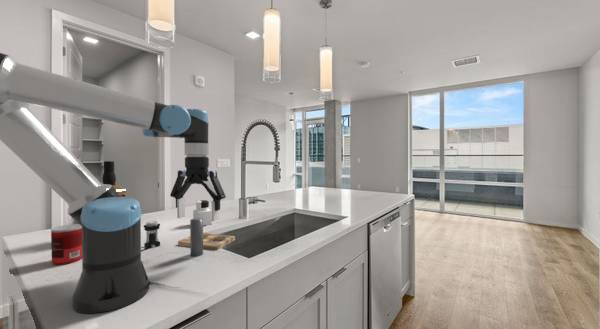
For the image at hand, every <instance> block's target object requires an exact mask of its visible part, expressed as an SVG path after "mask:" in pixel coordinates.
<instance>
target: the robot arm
mask: <svg viewBox="0 0 600 329" xmlns="http://www.w3.org/2000/svg"><path fill="white" fill-rule="evenodd" d="M30 105H34V106H38V107H43V108H49V109H52V110H57V111H62V112H67V113H71V114H75V115H78V116H79V115H80V116H84V117H89V118H94V119H98V120H103V121H108V122H113V123H116V124H117V123H118V124H121V125H126V126H131V127H135V128H140V129H141V132H142V135H143V136H144V137H148V138H149V137H150V138H151V137H152V138H177V139H178V138H179V139H184V155H185V157H184V167H185V169H186V170H185V169H182V170H178V171H177V175H176V179H175V182H174V185H173V187H172V189H171V192H170V197H171V198H174V199H175V208H176V210H177V212H176V213H177V219H181V218H185V217H186V212H185V211H186V206H185V203H186V202H185V200H186V199H185V197H184V195H185V194H186V193H187V192H188V190H189V189H190V187H191V186H192V185H195V184H196V185H202V186H203V187H204V189H205V190H206V192H207V193H208V194H209V195H210V198H211V199H212V201H211V211H212V222H215V221H218V220H219V218H220V217H219V211H220V210H221V200H223V199H226V193H225V192H224V188H223V187H222V185H221V182H220V180H219V178H218V171H217V170H210V171H209V166H210V160H209V159H210V158H209V157H208V155H209V125H210V124H209V115H208V112H207V111H206V110H204V109H199V108H185V107H184V106H183V105H179V104H169V105H168V104H165V103H164V104H163V103H161V102H156V101H154V100H149V99H146V98H142V97H139V96H135V95H132V94H129V93H125V92H121V91H118V90H115V89H110V88H107V87H104V86H99V85H97V84H93V83H88V82H85V81H82V80H79V79H75V78H71V77H68V76H64V75H61V74H57V73H54V72H49V71H47V70H43V69H39V68H36V67H33V66H28V65H25V64H23V63H19V62H18V61H17V60H16V59H15V58H14V57H13V56H12V55H9V54H6V53H2V52H0V141H1V142H2V143H3V144H4V145H5V146H6V147H7V148H8V149H9V150H10V151H11V152H12V153H13V154H14V155H16V156H17V157H18V158H19V159H20V160H21V161H22V162H23V163H24V164H25V165H26V166H27V167H28V168H29V169H31V171H33V172H34V173H35V174H36V175H37V176H38V177H39V178H40V179H41V180H42V181H44V183H46V184H47V185H48V186H49V187H50V189H52V191H54V192H55V193H56V194H57V195H58V196H59V197H60V198H61V199H63V201H65V202H66V203H67V204H68V209H67V214H68V215H69V216H70V217H71V218H72V219H73V220H74V221H75V222H77V224H80V225H81V226H82V259H81V260H82V263H81V265H82V266H81V267H82V268H81V272H80V273H81V274H80V276H79V279H78V281H77V284H76V288H75V290H74V292H73V295H72V308H73V310H74V311H75V312H78V313H81V314H99V313H105V312H111V311H114V310H118V309H120V308H123V307H126V306H129V305H131V304H134V303H135V302H137V301H139V300H140V299H142V298H143V297H144V296H145V295H147V293H148V291H149V289H150V279H149V276H148V275H147V271H146V269H145V266H144V264H143V262H142V251H141V250H142V248H141V247H142V243H141V242H142V239H141V237H142V236H141V235H142V233H141V232H142V230H141V227H142V226H141V225H142V224H141V221H142V220H141V216H142V209H141V204H140V201H138V199H135V198H133V197H127V196H125V197H122V196H121V195H120V194H119V193H118V192H117V191H116V190H115V189H114V187H113V186H112V185H107V184H103V183H102V182H100V180H99V179H97V178H96V177H95V175H94V174H93V173H92V172H91V171H90V170H89V169H88V168H87V167H86V166H85V165H84V164H83V163H82V162H81V161H80V160H79V159H78V157H77V156H75V154H74V153H73V152H71V150H70V149H69V148H68V147H67V146H66V145H65V144H64V143H63V142H62V141H61V140H60V139H59V138H58V137H57V136H56V135H55V134H54V133H53V131H51V130H50V128H48V126H47V125H46V124H45V123H44V122H43V121H42V120H41V119H40V118H39V117H38V115H36V113H34V112H33V110H31V109H30Z"/></svg>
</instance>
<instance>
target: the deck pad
mask: <svg viewBox="0 0 600 329" xmlns="http://www.w3.org/2000/svg"><path fill="white" fill-rule="evenodd" d="M213 253H214V251H211V250H210V251H209V250H204V249H203V255H201V256H198V257H192V256H190V251H189V252H186V253H184V254H182V255H180V256H179V257H178V258H180V259H186V260H193V261H194V260H195V261H201V260H203V259H204V258H205V257H206V258H207V257H208V256H210V255H211V254H213Z"/></svg>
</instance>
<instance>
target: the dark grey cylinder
mask: <svg viewBox="0 0 600 329" xmlns="http://www.w3.org/2000/svg"><path fill="white" fill-rule="evenodd" d="M189 223H190V231H189V233H190V234H189V235H190V236H189V237H190V248H189V250H190V251H189V252H190V256H192V257H198V256H201V255H203V250H204V248H203V233H204V226H203V218H194V219H193V218H191V219H190V222H189Z"/></svg>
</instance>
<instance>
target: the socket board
mask: <svg viewBox="0 0 600 329" xmlns="http://www.w3.org/2000/svg"><path fill="white" fill-rule="evenodd" d="M235 240H236V236H234V235H227V234H216V233H209V232H203V249H206V250H213V251H214V250H215V251H218V250H220V249H222V248H224V247H225V246H227V245H229V244H231V243H232V242H235ZM177 245H178V246H182V247H183V246H184V247H190V236H188V237H185V238H183V239H179V240H178V241H177Z"/></svg>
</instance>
